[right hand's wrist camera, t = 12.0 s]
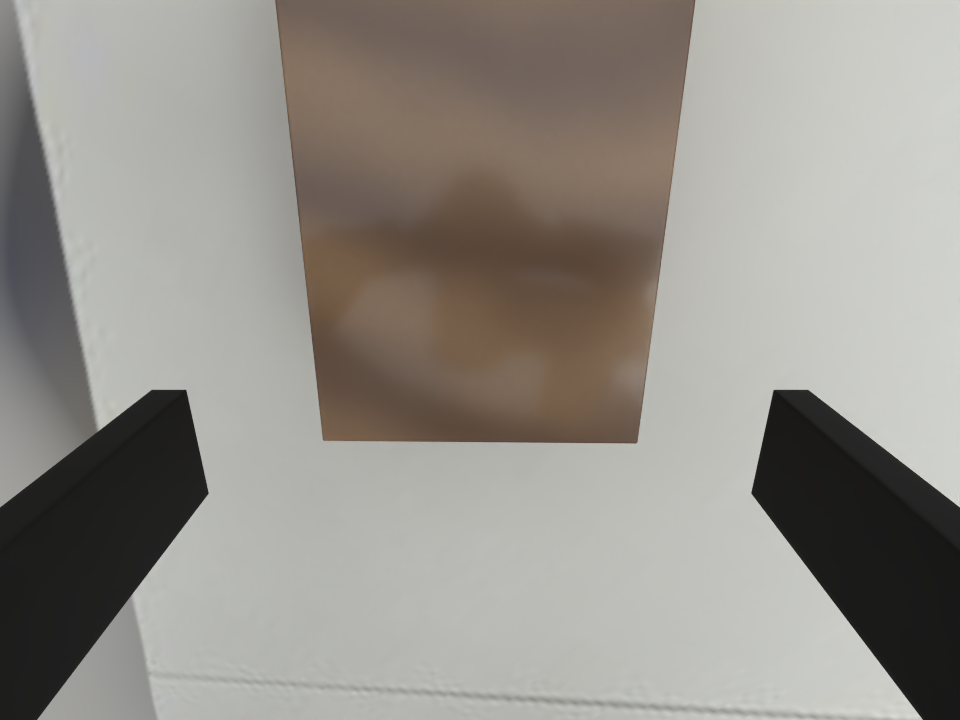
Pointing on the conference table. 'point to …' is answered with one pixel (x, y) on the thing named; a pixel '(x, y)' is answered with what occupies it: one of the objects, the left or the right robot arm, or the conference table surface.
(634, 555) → the conference table surface
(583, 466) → the conference table surface
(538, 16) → the wooden grain block
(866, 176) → the conference table surface
